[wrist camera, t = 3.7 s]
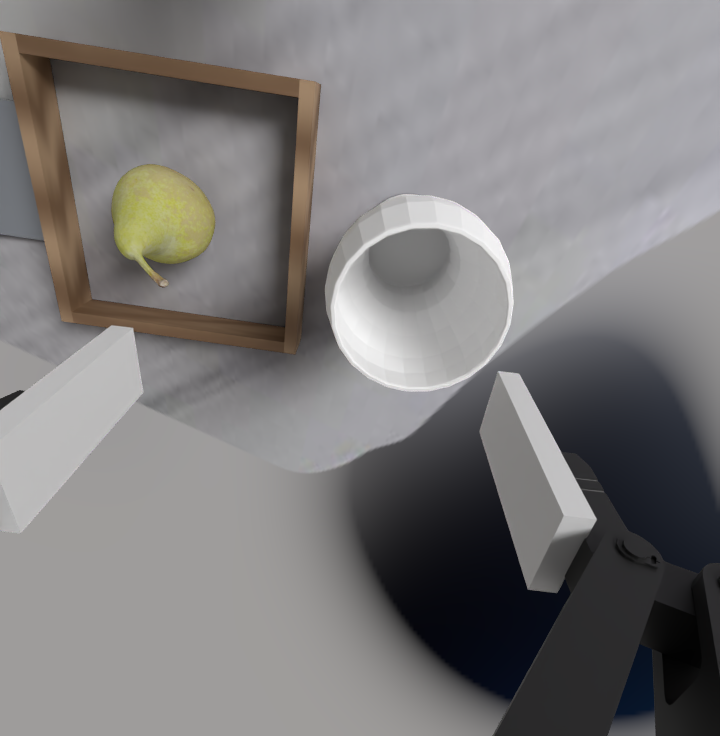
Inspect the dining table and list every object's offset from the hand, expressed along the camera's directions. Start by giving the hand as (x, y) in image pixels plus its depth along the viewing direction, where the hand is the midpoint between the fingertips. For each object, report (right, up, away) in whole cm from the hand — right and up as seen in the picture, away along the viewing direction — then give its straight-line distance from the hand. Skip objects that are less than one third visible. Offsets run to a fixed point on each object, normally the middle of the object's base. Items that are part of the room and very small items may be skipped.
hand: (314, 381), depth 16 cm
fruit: (-12, +13, +20) cm, 27 cm away
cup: (+5, +11, +20) cm, 23 cm away
